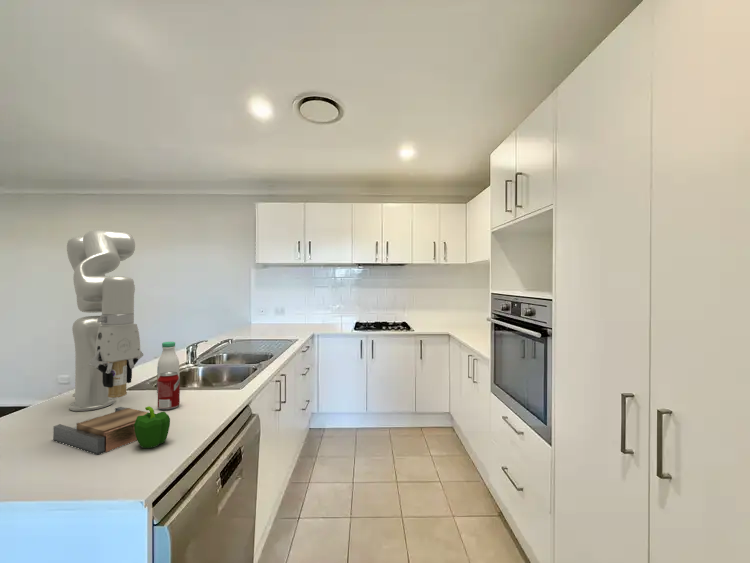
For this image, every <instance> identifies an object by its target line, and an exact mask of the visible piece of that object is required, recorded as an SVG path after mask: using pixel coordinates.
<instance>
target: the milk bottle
mask: <svg viewBox="0 0 750 563" xmlns="http://www.w3.org/2000/svg"><path fill="white" fill-rule="evenodd" d="M175 348H176V341H164V342H162V343H161V349H162V352H161V355H160V356H159V359H158V362H157V366H156V367H157V371H156V372H157V373H156V374H157V375H156V393H157V394H158V379H159V377H160V374H161V373H164V372H178V376H179V377H180V360H179V357H178V354H176V349H175Z"/></svg>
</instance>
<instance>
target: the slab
mask: <svg viewBox="0 0 750 563" xmlns="http://www.w3.org/2000/svg"><path fill="white" fill-rule="evenodd" d="M126 408H127V409H123V410H120V411H117V412H115V411H113V412H111V413H107V414H104V415H101V416H97V417H94V418H91V419H88V420H87V419H86V420H84V421H81V422H77V423H76V427H77V429H78V430H82V431H86V432H89V433H93V434H96V435H100V436H103V437H104V432H106V431H109V430H112V429H115V428H118V427H121V426H124V425H127V424H130V423H133V422H135V421H136V419H137V417H138V416H141V415H145V414H147V413H148V411H143V410H140V409H139V410H138V409H134V408H132V407H131V408H130V407H126Z"/></svg>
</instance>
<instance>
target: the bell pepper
mask: <svg viewBox="0 0 750 563" xmlns="http://www.w3.org/2000/svg"><path fill="white" fill-rule="evenodd" d="M144 409H145V411H147V412H148V411H149V412H148V413H147V414H145V415H141V416H138V417H137V419H136V421H135V424H134V430H135V435H136V438H137V440H136V441H137V444H138V445H139V446H140V447H141V448H143V449H151V448H155V447H157V446H159V445H161V444H163V443H165V442H166V440H167V438H168V434H169V431H170V427H171V418H170V416H169V414H168V413H166V411H160V412H157V413H155V409H154V408H153V407H151V406H149V405H148V406H145V407H144Z"/></svg>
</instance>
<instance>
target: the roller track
mask: <svg viewBox="0 0 750 563" xmlns="http://www.w3.org/2000/svg"><path fill="white" fill-rule="evenodd" d="M114 408H115V409H114V412H117V411H120V410H123V409H127V408H128V407H123V406H118V407H114ZM134 424H135V422H133V423H130V424H127V425H124V426H121V427H118V428H115V429H112V430H109V431H106V432H104V437H103V436H100V435H96V434H93V433H89V432H86V431H82V430H78V429H77V426H75V427H71V426H67V425H64V424H57V425H54V426H53V429H52V430H53V431H52V433H53V435H52V438H53V440H54V441H53V440H52V441H53V442H55V441H57V443H59V442H61V443H60V444H62V443H64V444H63V445H65V444H67V445H66V446H68V445H70V446H69V447H71V446H73V447H72V448H74V447H76V448H75V449H77V448H79V449H78V450H81V449H82V450H81V451H84V450H85V451H84V452H87V451H88V452H87V453H90V452H91V453H90V454H93V453H94V455H96V454H97V455H96V456H99V455H102V454H104V453H107V452H110V450H111V451H113V450H115V448H116V449H118V448H121V447H123V446H122V445H124V446H126V445H128V443H129V444H131V443H134V442H136V441H137V438H136V435H135V430H134ZM133 441H134V442H133ZM130 442H131V443H130ZM125 444H126V445H125ZM120 446H121V447H120ZM117 447H118V448H117ZM112 449H113V450H112ZM101 453H102V454H101Z"/></svg>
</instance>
